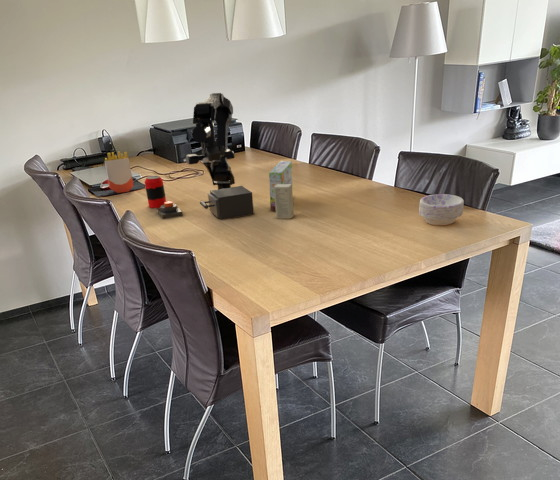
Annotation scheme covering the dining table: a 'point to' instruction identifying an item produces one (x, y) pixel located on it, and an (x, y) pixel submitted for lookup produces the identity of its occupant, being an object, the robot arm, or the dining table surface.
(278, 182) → the snack box
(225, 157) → the robot arm
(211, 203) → the drawer
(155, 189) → the soda can
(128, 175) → the french fries container
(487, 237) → the dining table surface
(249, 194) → the dark grey hollow box
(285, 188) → the cosmetic box
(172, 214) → the panel
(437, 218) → the grey stone bowl
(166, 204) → the button
